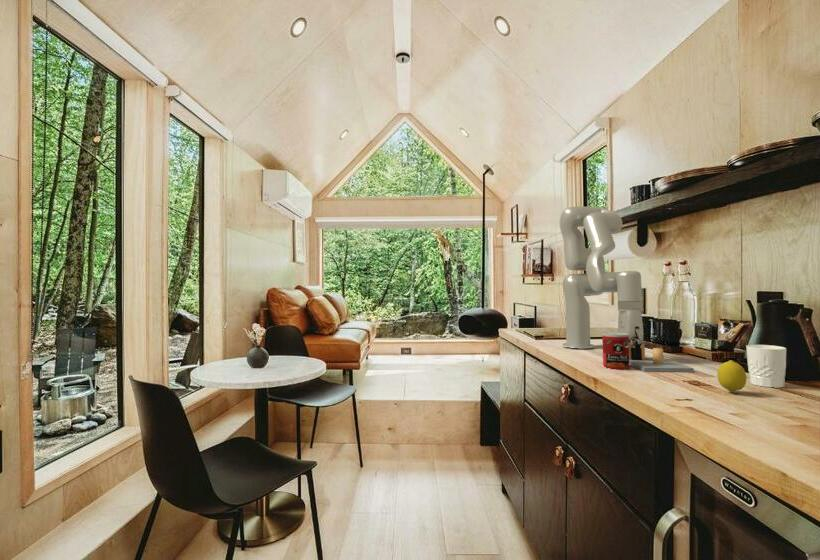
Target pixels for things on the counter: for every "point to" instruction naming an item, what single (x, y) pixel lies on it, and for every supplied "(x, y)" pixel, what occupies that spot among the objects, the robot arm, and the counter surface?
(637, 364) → the stub board
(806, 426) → the counter surface
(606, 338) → the canned food
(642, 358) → the tan block
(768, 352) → the white cup
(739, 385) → the lemon
